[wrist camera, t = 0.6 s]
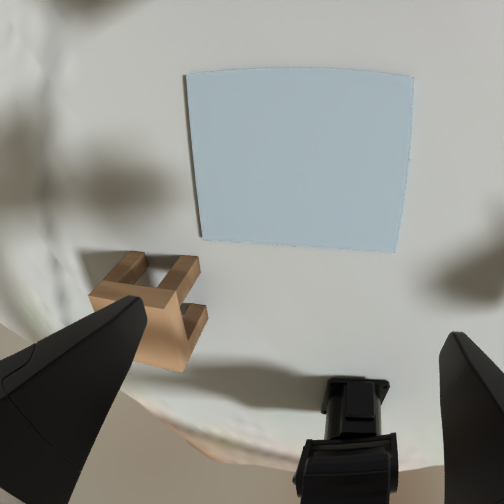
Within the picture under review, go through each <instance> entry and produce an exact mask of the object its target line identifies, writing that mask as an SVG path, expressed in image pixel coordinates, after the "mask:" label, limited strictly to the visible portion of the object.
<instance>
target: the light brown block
mask: <svg viewBox="0 0 504 504" xmlns="http://www.w3.org/2000/svg"><path fill="white" fill-rule="evenodd" d="M147 268H148V265H147V261H146V257H145V253H144V252H136V251H130V252H129V253H128V254H127V255H126V256H125V257H124V258H123V259H122V260H121V261H120V262H119V263H118V264H117V265H116V266H115V267H114V268H113V269H112V270H111V271H110V272H109V273H108V275H107V276H106V277H105V278H104V279H103V280H102V281H101V282H100V283H99V284H98V285H97V286H96V287H95V289H94V290H93V291H92V292H91V293H90V294H89V295H88V297H89V299H90V302H91V304H92V307H93V309H94V311H95V312H96V311H98V310H100V309H102V308H104V307H106V306H108V305H110V304H112V303H114V302H115V301H117V300H119V299H121V298H123V297H125V296H127V295H134V296H139V297H141V298H142V300H143V303H144V307H145V310H146V314H147V326H146V328H145V331H144V333H143V336H142V338H141V341H140V344H139V346H138V349H137V352H136V354H135V357H134V360H133V361H136V362H140V363H144V364H148V365H152V366H156V367H160V368H164V369H169V370H173V371H178V372H183V371H184V369H185V366H186V364H187V362H188V360H189V358H190V356H191V354H192V352H193V349H194V347H195V345H196V343H197V341H198V339H199V337H200V335H201V332H202V330H203V328H204V326H205V324H206V322H207V320H208V314H207V308H206V305H198V304H190V305H189V307H188V309H187V310H186V312H185V314H184V316H183V317H182V315H181V311H180V306H181V304H182V303H183V301H184V299H185V298H186V296H187V294H188V293H189V291H190V289H191V288H192V286H193V284H194V283H195V281H196V279H197V278H198V276H199V274H200V273H201V271H200V265H199V258H198V257H196V256H184V255H181V256H180V257H179V259H178V260H177V261H176V263H175V264H174V265H173V267H172V268H171V269H170V271H169V272H168V274H167V275H166V276H165V278H164V279H163V280H162V282H161V283H160V284H159V286H158V287H157V288H152V287H145V286H138V285H134V283H135V282H136V281H137V280H138V278H139V277H140V276H141V275H142V274H143V272H144V271H145V270H146V269H147Z"/></svg>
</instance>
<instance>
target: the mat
mask: <svg viewBox="0 0 504 504" xmlns="http://www.w3.org/2000/svg"><path fill="white" fill-rule="evenodd" d="M186 80H187V94H188V106H189V118H190V129H191V140H192V151H193V160H194V170H195V179H196V188H197V197H198V206H199V214H200V222H201V230H202V238H203V240H211V241H226V242H242V243H257V244H272V245H287V246H302V247H317V248H331V249H345V250H359V251H373V252H386V253H395V250H396V245H397V240H398V235H399V229H400V223H401V217H402V211H403V204H404V197H405V190H406V182H407V174H408V165H409V155H410V144H411V131H412V115H413V84H414V77H408V76H402V75H395V74H387V73H379V72H370V71H360V70H348V69H332V68H301V67H282V68H251V69H234V70H222V71H211V72H202V73H194V74H186Z"/></svg>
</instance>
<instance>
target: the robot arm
mask: <svg viewBox="0 0 504 504" xmlns="http://www.w3.org/2000/svg"><path fill="white" fill-rule="evenodd" d="M146 326H147V314H146V310H145V307H144V303H143V300H142V298H141V297H139V296H134V295H127V296H125V297H123V298H121V299H119V300H117V301H115V302H114V303H112V304H110V305H108V306H106V307H104V308H102V309H100V310H98V311H96V312H94V313H92V314H90V315H88V316H86V317H84V318H82V319H80V320H79V321H77V322H75V323H73V324H71V325H69V326H67V327H65V328H63V329H61V330H59V331H57V332H56V333H54V334H52V335H50V336H48V337H46V338H44V339H42V340H40V341H38V342H37V343H34V344H33V345H31V346H29V347H27V348H25V349H23V350H21V351H19V352H17V353H15V354H13V355H11V356H9V357H7V358H4V359H3V360H0V504H68V502H69V500H70V497H71V495H72V492H73V490H74V488H75V485H76V483H77V481H78V478H79V476H80V474H81V471H82V469H83V466H84V464H85V462H86V460H87V457H88V455H89V453H90V451H91V448H92V446H93V444H94V442H95V439H96V437H97V435H98V433H99V431H100V428H101V427H102V424H103V422H104V420H105V418H106V416H107V414H108V412H109V409H110V408H111V405H112V403H113V401H114V399H115V397H116V395H117V393H118V391H119V389H120V387H121V385H122V383H123V381H124V379H125V377H126V375H127V373H128V371H129V369H130V367H131V364H132V362H133V360H134V357H135V354H136V352H137V349H138V346H139V344H140V341H141V338H142V336H143V333H144V331H145V328H146ZM439 372H440V406H441V418H442V429H443V443H444V466H445V502H444V503H445V504H504V373H503V372H502V371H501V370H500V369H499V368H498V367H497V366H496V365H495V363H494V362H493V361H492V360H491V359H490V358H489V357H488V356H487V355H486V354H485V353H484V352H483V351H482V350H481V349H480V348H479V347H478V346H477V345H476V344H475V343H474V342H473V341H472V340H471V339H470V338H469V337H468V336H467V335H466V334H465V333H463V332H451V333H450V334H449V335H448V337H447V339H446V341H445V343H444V345H443V347H442V349H441V351H440V355H439ZM389 388H390V383H389V382H388V381H363V380H342V379H330V380H328V382H327V387H326V391H325V395H324V400H323V404H322V408H321V413H322V414H327V415H326V426H325V436H324V440H312V439H307V440H306V444H305V446H304V447H303V451H302V454H301V458H300V461H299V465H298V468H297V470H296V472H295V474H294V476H293V483H294V484H295V485H296V490H297V495H298V497H299V498H301V503H300V504H389V495H390V494H391V493H396V492H397V487H398V451H397V438H396V433H390V434H387V435H381V404H382V402H383V400H384V398H385V396H386V394H387V392H388V390H389Z"/></svg>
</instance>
